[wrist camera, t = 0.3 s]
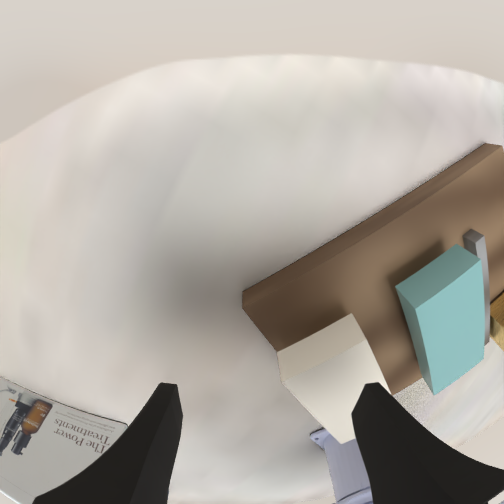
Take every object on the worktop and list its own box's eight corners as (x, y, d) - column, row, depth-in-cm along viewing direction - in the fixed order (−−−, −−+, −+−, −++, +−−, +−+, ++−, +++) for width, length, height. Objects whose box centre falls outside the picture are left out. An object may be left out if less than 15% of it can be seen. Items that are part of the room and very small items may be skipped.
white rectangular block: (389, 393, 19) (400, 415, 16) (334, 420, 20) (341, 444, 17) (351, 312, 15) (366, 339, 13) (276, 352, 16) (281, 382, 14)
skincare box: (126, 420, 25) (92, 541, 10) (135, 442, 27) (111, 548, 12) (-2, 372, 23) (-51, 449, 9) (13, 398, 25) (-28, 471, 10)
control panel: (506, 291, 20) (525, 307, 17) (332, 407, 24) (340, 435, 21) (485, 143, 15) (516, 148, 12) (242, 291, 19) (242, 322, 15)
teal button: (468, 340, 17) (483, 358, 15) (421, 374, 18) (434, 395, 16) (456, 243, 14) (481, 259, 12) (394, 286, 15) (415, 308, 13)
